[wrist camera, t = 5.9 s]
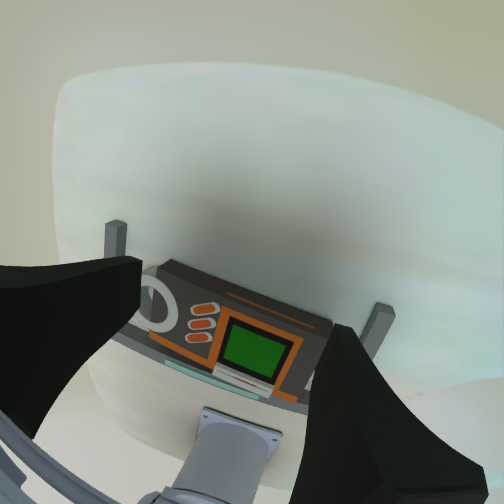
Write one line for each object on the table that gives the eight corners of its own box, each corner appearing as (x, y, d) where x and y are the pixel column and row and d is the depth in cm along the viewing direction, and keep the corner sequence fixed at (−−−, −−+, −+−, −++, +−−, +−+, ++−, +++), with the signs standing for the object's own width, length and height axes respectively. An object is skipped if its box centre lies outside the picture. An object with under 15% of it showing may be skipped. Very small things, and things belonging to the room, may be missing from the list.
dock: (336, 408, 22) (335, 423, 20) (113, 326, 25) (102, 335, 23) (392, 307, 18) (397, 320, 16) (115, 219, 21) (100, 225, 20)
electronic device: (127, 256, 20) (335, 345, 17) (150, 245, 22) (338, 321, 19) (122, 329, 22) (296, 411, 19) (142, 313, 25) (303, 386, 22)
